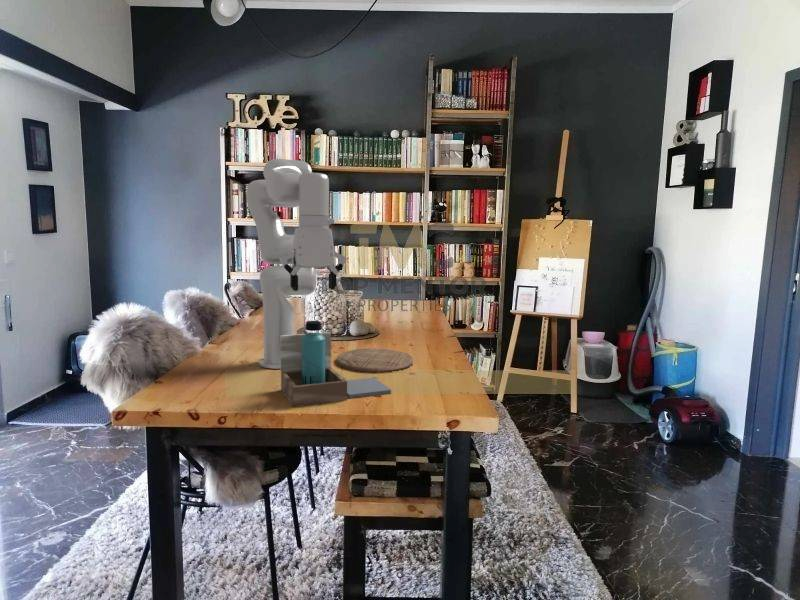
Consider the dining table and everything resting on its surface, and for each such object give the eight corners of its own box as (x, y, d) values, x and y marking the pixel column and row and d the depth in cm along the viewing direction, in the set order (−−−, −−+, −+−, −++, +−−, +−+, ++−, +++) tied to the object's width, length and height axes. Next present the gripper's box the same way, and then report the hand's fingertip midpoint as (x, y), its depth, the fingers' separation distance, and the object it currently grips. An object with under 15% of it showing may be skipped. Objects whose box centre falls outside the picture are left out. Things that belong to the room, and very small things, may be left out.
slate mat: (335, 385, 148) (335, 381, 148) (374, 380, 153) (374, 377, 153) (349, 398, 138) (349, 394, 138) (391, 393, 143) (391, 389, 143)
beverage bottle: (326, 391, 143) (327, 319, 140) (324, 399, 137) (324, 323, 134) (302, 390, 143) (302, 318, 140) (299, 398, 136) (299, 323, 133)
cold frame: (280, 389, 144) (280, 335, 141) (329, 383, 149) (330, 332, 147) (293, 406, 130) (293, 347, 128) (346, 400, 136) (347, 343, 134)
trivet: (404, 377, 159) (404, 371, 159) (326, 370, 164) (326, 364, 164) (418, 357, 184) (418, 351, 183) (349, 351, 188) (349, 346, 188)
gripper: (341, 223, 140) (340, 287, 142) (276, 222, 133) (277, 289, 135) (351, 223, 133) (350, 290, 136) (283, 222, 126) (283, 292, 128)
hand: (313, 289), depth 135 cm, fingers open, 9 cm apart
